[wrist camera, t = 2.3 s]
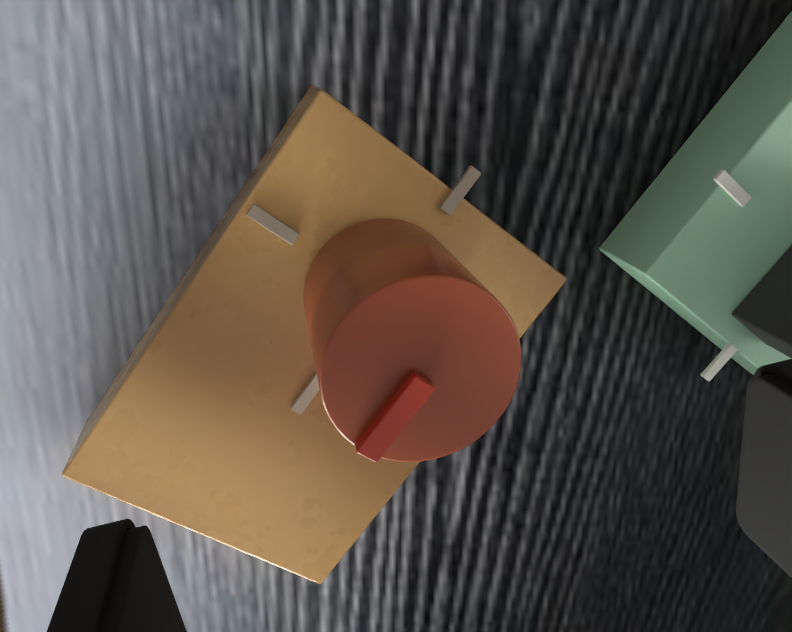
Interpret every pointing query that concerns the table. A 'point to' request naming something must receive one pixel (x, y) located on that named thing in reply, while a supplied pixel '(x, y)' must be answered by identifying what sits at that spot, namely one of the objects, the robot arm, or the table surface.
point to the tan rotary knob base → (280, 351)
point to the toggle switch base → (721, 209)
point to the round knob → (407, 343)
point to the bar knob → (771, 307)
